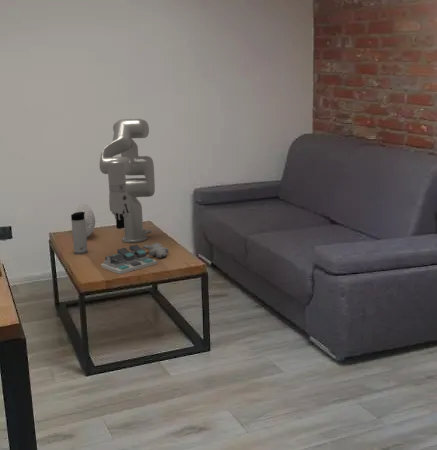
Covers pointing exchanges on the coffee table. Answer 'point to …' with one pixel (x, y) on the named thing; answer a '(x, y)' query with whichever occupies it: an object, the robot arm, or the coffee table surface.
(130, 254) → the rocker middle
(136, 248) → the rocker nearest
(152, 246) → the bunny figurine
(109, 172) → the robot arm
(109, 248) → the coffee table surface
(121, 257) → the rocker
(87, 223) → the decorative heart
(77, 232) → the travel mug
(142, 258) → the switch unit
